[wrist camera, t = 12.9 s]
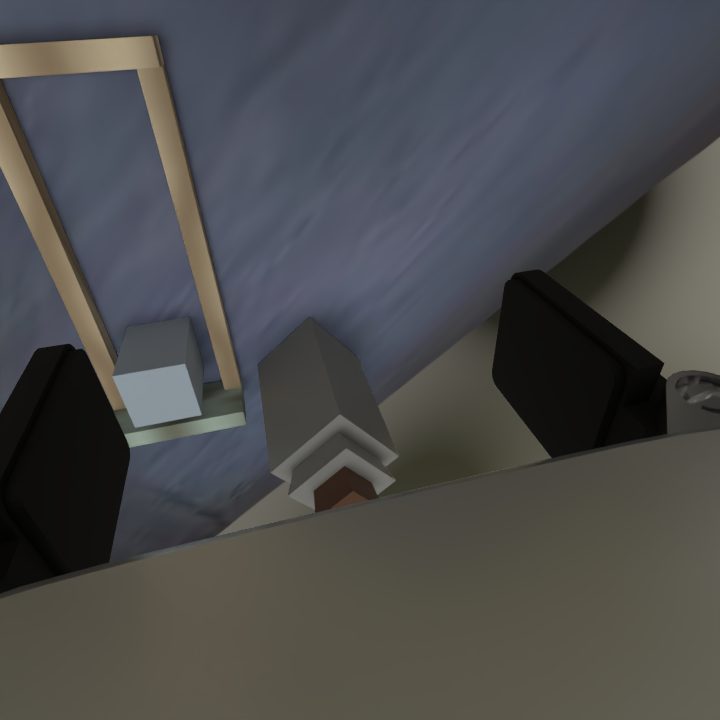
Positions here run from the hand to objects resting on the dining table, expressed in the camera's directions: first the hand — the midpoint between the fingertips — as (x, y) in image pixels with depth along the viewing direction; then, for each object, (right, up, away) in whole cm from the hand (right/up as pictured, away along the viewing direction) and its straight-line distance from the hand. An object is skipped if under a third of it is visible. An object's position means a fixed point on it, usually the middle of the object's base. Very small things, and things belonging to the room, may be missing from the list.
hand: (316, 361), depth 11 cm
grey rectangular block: (-16, +1, +30) cm, 34 cm away
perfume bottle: (-4, 0, +35) cm, 35 cm away
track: (-16, +8, +25) cm, 31 cm away
